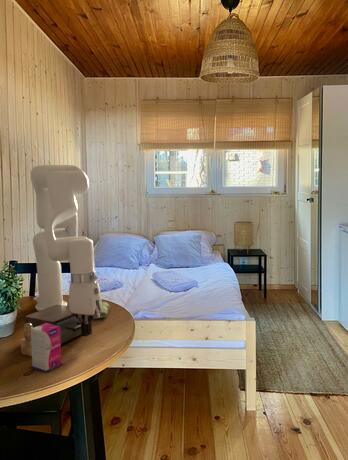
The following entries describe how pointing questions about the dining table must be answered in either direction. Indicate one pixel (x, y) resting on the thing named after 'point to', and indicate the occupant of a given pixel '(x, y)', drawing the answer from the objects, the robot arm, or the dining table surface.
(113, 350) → the dining table surface
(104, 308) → the washcloth
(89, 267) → the robot arm
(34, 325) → the cabinet
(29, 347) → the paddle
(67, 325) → the drawer
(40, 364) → the supplement box
